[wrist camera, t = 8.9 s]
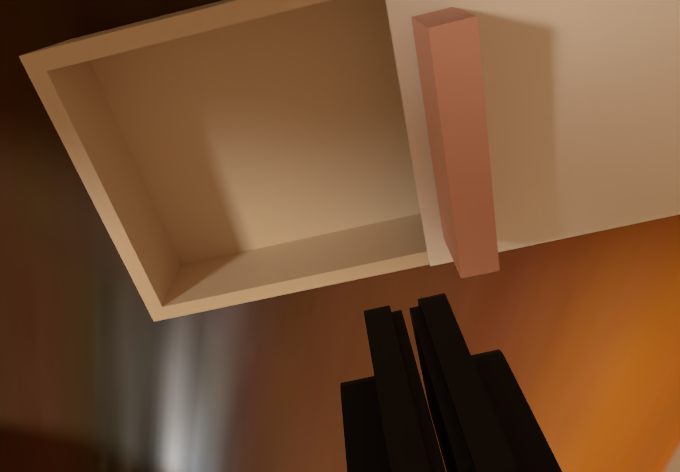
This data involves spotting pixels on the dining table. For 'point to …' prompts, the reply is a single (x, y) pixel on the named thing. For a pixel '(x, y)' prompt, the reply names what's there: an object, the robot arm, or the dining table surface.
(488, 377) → the robot arm
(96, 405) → the dining table surface
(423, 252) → the box
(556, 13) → the cream slab
